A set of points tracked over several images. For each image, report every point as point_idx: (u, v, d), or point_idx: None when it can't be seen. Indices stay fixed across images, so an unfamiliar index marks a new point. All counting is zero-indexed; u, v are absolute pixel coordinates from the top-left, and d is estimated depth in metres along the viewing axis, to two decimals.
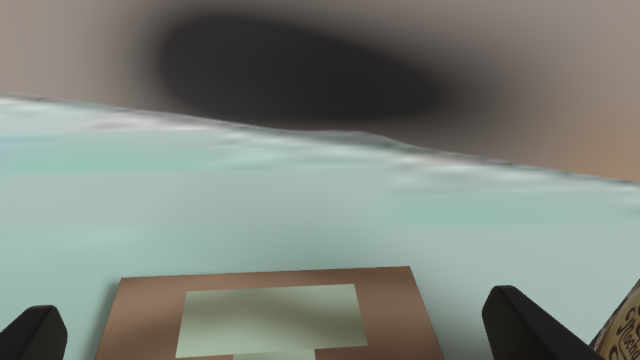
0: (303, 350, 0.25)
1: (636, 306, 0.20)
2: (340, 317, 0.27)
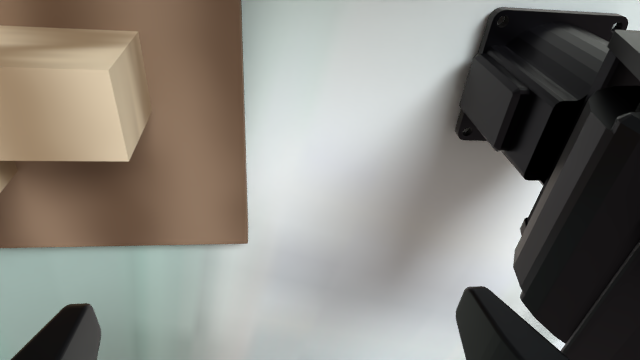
0: None
1: None
2: None
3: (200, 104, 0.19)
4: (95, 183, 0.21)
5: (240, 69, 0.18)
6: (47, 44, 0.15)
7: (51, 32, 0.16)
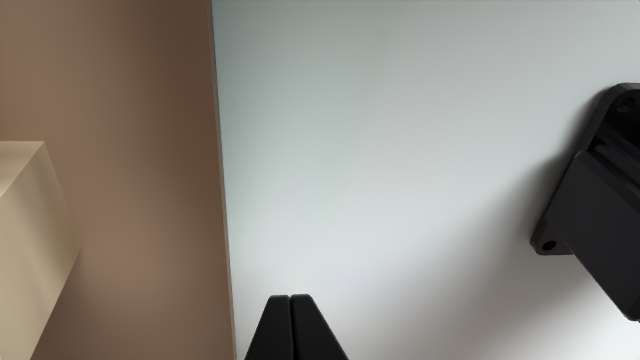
0: None
1: None
2: None
3: (157, 234, 0.12)
4: None
5: (218, 187, 0.11)
6: None
7: None
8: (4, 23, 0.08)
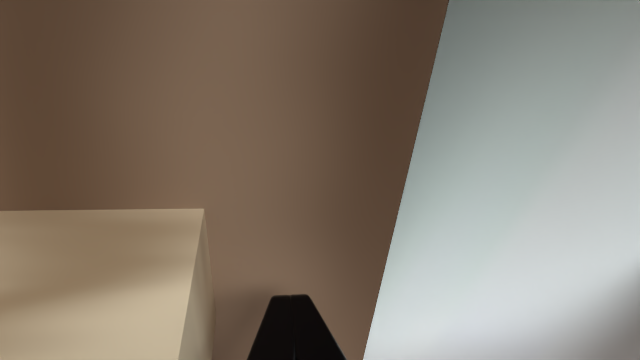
0: None
1: None
2: None
3: None
4: None
5: (385, 253, 0.10)
6: (20, 287, 0.07)
7: (31, 232, 0.08)
8: (196, 80, 0.07)
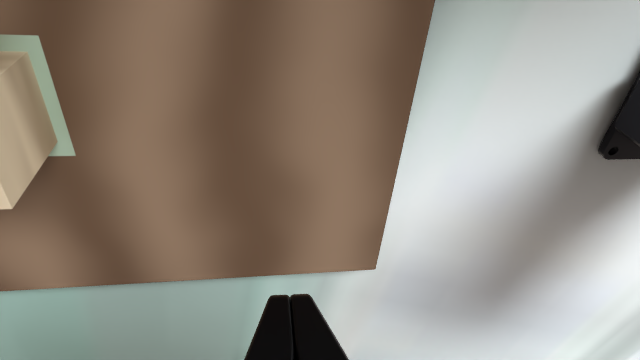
0: None
1: None
2: None
3: (363, 131, 0.18)
4: (238, 215, 0.20)
5: (412, 95, 0.17)
6: None
7: None
8: None
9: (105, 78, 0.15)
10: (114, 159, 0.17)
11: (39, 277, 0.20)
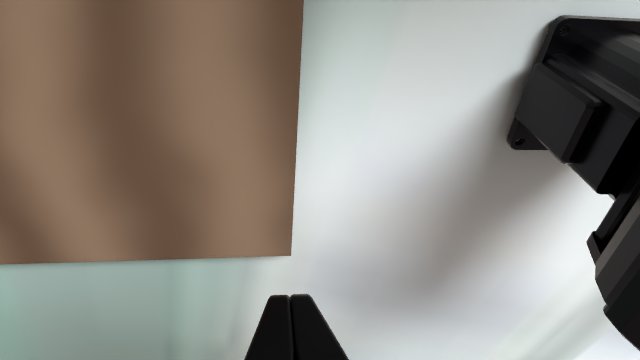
0: None
1: None
2: None
3: (254, 116, 0.18)
4: (141, 197, 0.20)
5: (298, 80, 0.18)
6: None
7: None
8: None
9: None
10: (8, 138, 0.18)
11: None
